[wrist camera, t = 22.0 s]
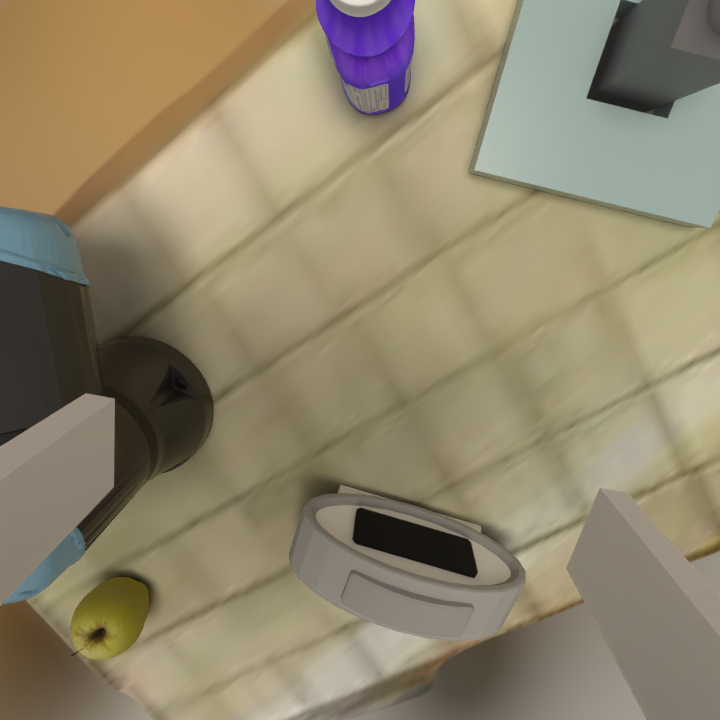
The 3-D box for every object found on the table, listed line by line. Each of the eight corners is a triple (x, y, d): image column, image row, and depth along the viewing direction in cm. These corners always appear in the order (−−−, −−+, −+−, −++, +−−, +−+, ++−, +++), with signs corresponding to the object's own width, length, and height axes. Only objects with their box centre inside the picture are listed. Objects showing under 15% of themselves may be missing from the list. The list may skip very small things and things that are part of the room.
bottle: (331, 28, 37) (281, -119, 20) (399, 9, 36) (404, -162, 20) (351, 124, 39) (319, 60, 23) (415, 108, 38) (432, 29, 22)
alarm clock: (510, 527, 51) (547, 625, 39) (490, 568, 53) (518, 674, 41) (314, 469, 50) (289, 551, 38) (301, 513, 52) (273, 604, 40)
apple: (124, 633, 59) (60, 691, 49) (102, 576, 59) (34, 622, 49) (174, 616, 57) (118, 672, 48) (151, 558, 58) (91, 601, 48)
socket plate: (468, 172, 40) (474, 170, 37) (550, -113, 33) (565, -143, 30) (687, 226, 40) (710, 228, 37) (812, -47, 33) (851, -72, 30)
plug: (584, 98, 37) (705, 26, 23) (609, 27, 35) (755, -97, 21) (644, 113, 37) (801, 50, 23) (671, 43, 35) (859, -71, 21)
